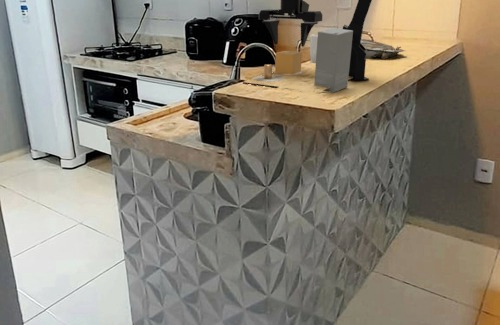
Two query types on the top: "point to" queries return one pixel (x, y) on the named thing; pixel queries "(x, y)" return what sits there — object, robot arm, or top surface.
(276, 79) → the board
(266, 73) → the pigtail post
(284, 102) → the top surface
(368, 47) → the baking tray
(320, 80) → the skincare box
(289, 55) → the tan wooden cube
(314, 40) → the white cup
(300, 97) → the top surface
